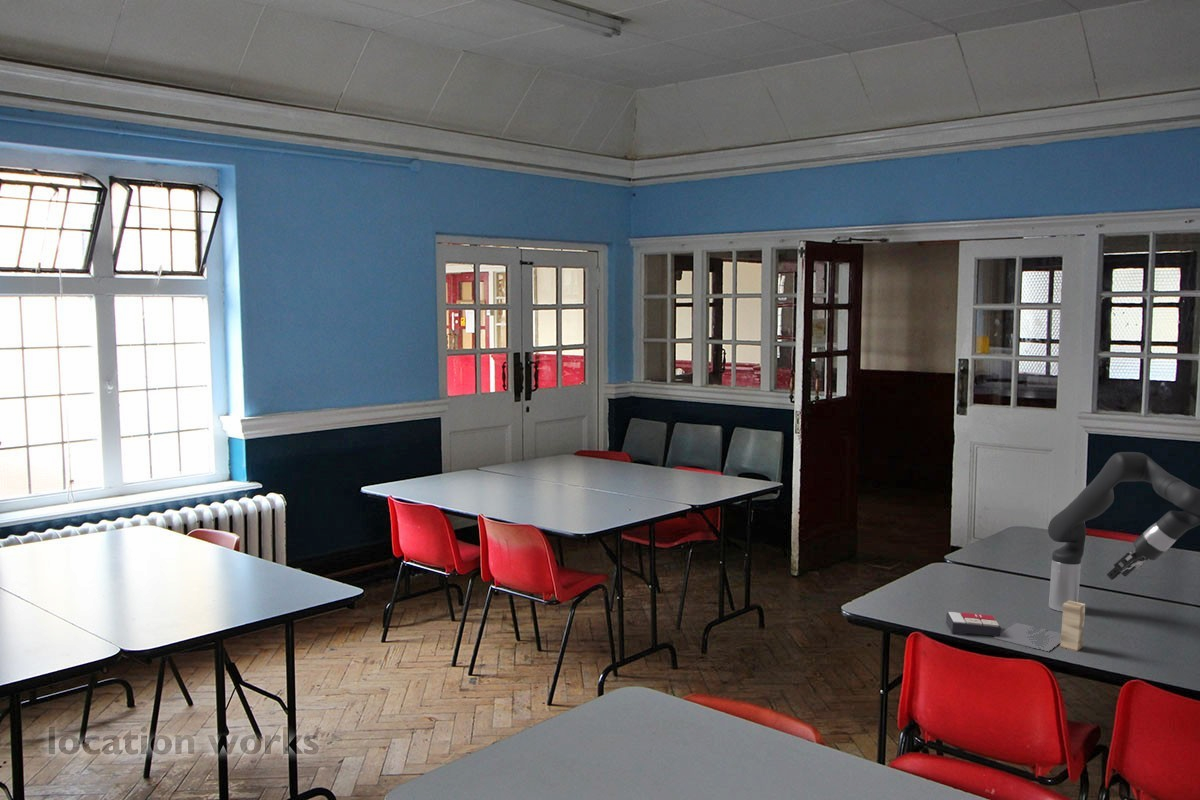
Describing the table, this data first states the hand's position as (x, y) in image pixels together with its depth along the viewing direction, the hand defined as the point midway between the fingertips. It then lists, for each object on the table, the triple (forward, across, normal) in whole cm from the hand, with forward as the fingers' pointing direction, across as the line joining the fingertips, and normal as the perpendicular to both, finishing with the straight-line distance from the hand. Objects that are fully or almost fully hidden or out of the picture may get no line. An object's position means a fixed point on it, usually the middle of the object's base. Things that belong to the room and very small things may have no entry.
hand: (1116, 575), depth 294 cm
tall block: (+28, -2, +6) cm, 29 cm away
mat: (+35, -1, -3) cm, 35 cm away
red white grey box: (+45, +9, -15) cm, 48 cm away
